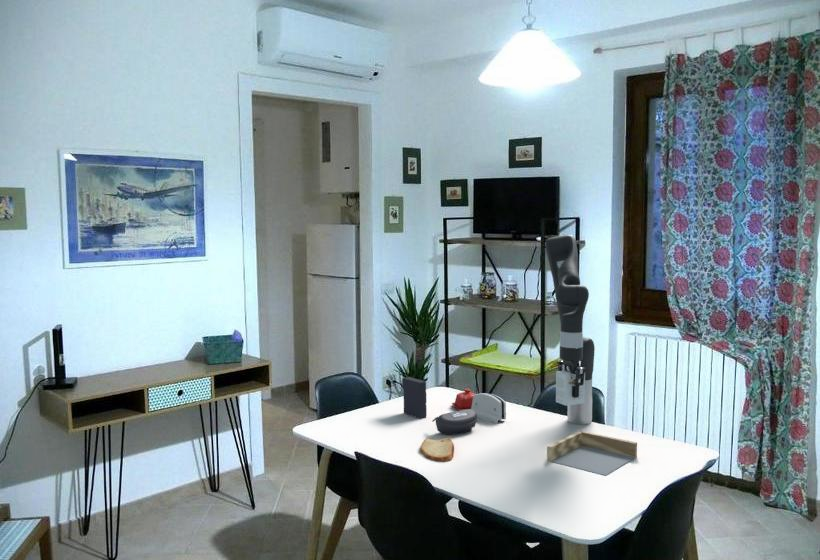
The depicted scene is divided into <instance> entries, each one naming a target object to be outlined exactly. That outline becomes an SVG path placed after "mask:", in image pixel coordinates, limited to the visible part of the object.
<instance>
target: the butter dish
mask: <svg viewBox="0 0 820 560" xmlns="http://www.w3.org/2000/svg"><path fill="white" fill-rule="evenodd" d="M476 394H477V393H475V392H471V389H470V388H465V389H464V391H462V392H459V393H457V394H456V397H455V401H454V402H451V405H452V406H453V407H454V408H455V409H456V410H457V411H460V410H465V409H471V407H472V402H473V396H474V395H476Z"/></svg>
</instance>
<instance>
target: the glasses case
mask: <svg viewBox="0 0 820 560" xmlns="http://www.w3.org/2000/svg"><path fill="white" fill-rule="evenodd" d="M478 420H479V418H478V417H477V414H476V412H474V411H473V410H471V409H465V410H457V411H456V410H455V411H451V412H447V413H442V414H440V415H438V416H436V417H435V418H434V419H433V420H432V421H431V422H432V423H433V422H434V423H435V426H436V430H437V432H439V433H440V434H443V435H456V434H463V433H466V432H469V431H471V430H472V429H473V428H475V427H476V424H477V422H478Z"/></svg>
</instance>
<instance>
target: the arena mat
mask: <svg viewBox="0 0 820 560" xmlns="http://www.w3.org/2000/svg"><path fill="white" fill-rule="evenodd" d="M635 459H636V458H635V457H631V456H627V455H622V454H618V453H613V452H609V451H605V450H600V449H596V448H591V447H587V446H580V447H578V448H576V449H574V450H572V451H570V452H568V453H566V454H564V455H562V456H560V457H559V458H557V459H555V460H553V461H551V462H550V463H554V464H558V465H562V466H565V467H570V468H574V469H577V470H581V471H585V472H590V473H594V474H596V475H601V476H605V477H607V476H608V475H610V474H612V473H613V472H615V471H616V470H618V469H620V468H622V467H623V466H625V465H626V464H628V463H630V462H631V461H633V460H635Z"/></svg>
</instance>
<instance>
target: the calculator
mask: <svg viewBox="0 0 820 560" xmlns="http://www.w3.org/2000/svg"><path fill="white" fill-rule="evenodd" d="M401 382H402V383H401V385H402V389H403V415H408V416H411V417H413V418H416V419H420V420H422V419H423V420H424V419H426V418H427V382H426V380H422V379H417V378H414V377H412V376H408V377H407V376H406V377H403V378H402V381H401Z"/></svg>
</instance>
